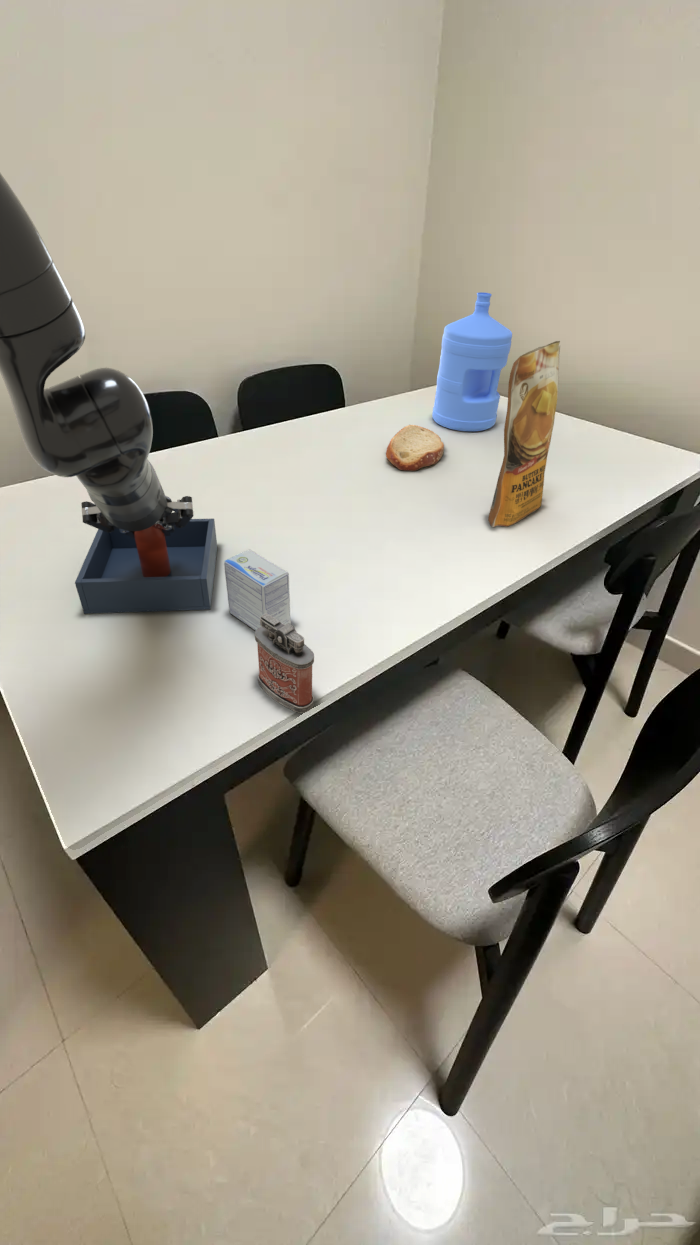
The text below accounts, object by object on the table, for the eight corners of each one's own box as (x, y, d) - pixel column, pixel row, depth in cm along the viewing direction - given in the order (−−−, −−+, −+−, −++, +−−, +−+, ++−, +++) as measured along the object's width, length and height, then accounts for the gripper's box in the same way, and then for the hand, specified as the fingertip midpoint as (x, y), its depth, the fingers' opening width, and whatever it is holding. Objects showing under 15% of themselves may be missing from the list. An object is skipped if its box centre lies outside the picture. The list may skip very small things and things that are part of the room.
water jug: (419, 420, 143) (434, 291, 126) (453, 406, 153) (471, 285, 135) (474, 438, 136) (498, 303, 118) (506, 422, 145) (533, 295, 128)
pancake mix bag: (466, 521, 103) (498, 352, 86) (521, 490, 114) (559, 335, 97) (499, 535, 100) (539, 362, 82) (552, 502, 111) (597, 343, 93)
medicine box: (291, 625, 78) (290, 571, 72) (266, 640, 75) (263, 585, 70) (253, 600, 82) (250, 547, 76) (228, 613, 79) (222, 559, 74)
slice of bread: (419, 431, 137) (421, 415, 135) (469, 459, 125) (472, 442, 123) (355, 443, 129) (356, 427, 127) (402, 474, 118) (404, 456, 115)
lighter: (320, 702, 67) (321, 635, 61) (299, 718, 65) (298, 650, 59) (272, 668, 71) (269, 603, 65) (251, 682, 69) (246, 616, 63)
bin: (83, 613, 78) (74, 582, 74) (109, 549, 90) (101, 520, 87) (210, 609, 80) (206, 578, 76) (217, 546, 93) (214, 518, 89)
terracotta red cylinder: (140, 580, 83) (128, 524, 77) (144, 565, 86) (133, 510, 80) (169, 579, 83) (159, 523, 78) (172, 564, 86) (163, 509, 81)
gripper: (187, 454, 67) (199, 502, 84) (56, 459, 65) (95, 507, 82) (193, 517, 67) (204, 552, 83) (61, 525, 64) (99, 560, 81)
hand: (150, 530), depth 82 cm, fingers closed on terracotta red cylinder, 4 cm apart
